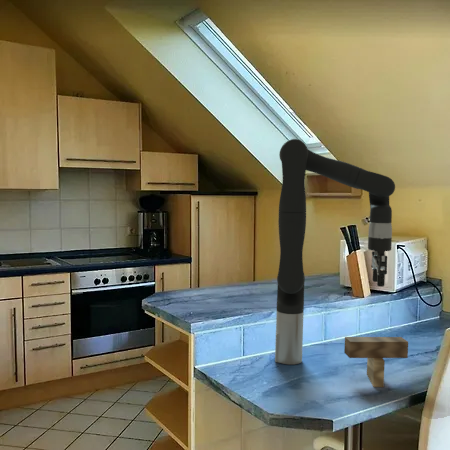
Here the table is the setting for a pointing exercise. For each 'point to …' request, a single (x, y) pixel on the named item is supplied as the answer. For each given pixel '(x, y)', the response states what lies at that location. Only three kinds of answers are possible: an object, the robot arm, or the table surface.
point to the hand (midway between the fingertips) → (378, 284)
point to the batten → (376, 347)
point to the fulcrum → (376, 371)
